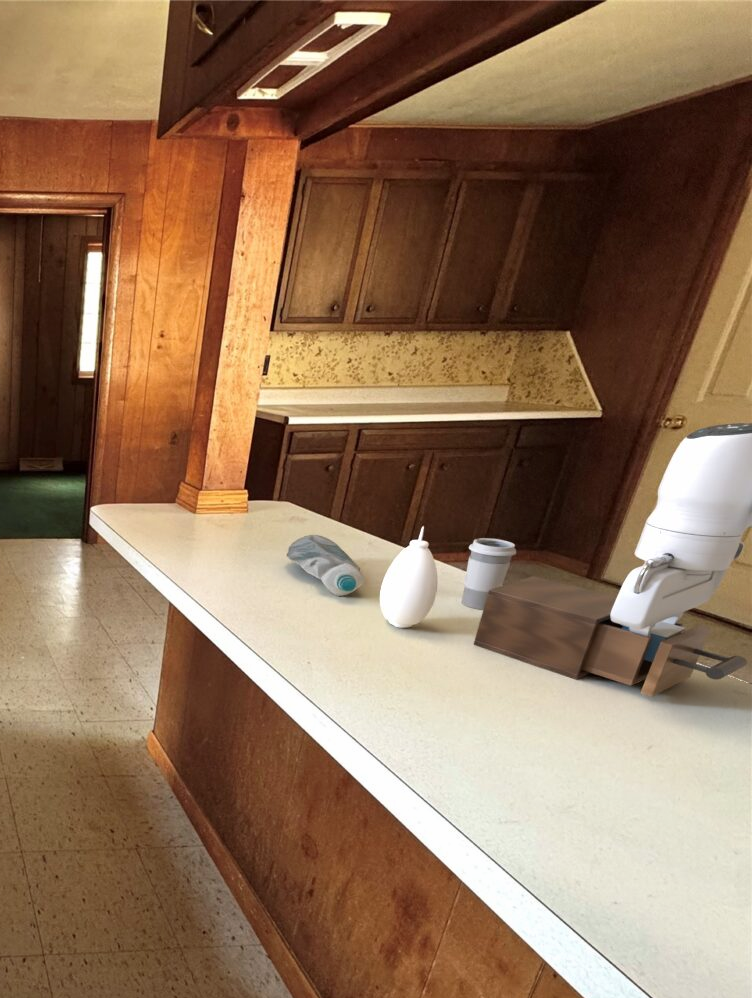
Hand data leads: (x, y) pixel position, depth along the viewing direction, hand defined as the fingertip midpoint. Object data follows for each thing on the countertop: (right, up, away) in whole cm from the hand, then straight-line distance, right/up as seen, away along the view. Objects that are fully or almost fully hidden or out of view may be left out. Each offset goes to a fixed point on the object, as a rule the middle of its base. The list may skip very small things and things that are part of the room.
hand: (647, 642), depth 93 cm
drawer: (0, -5, +2) cm, 5 cm away
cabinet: (-4, -2, +11) cm, 12 cm away
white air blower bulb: (-20, +1, +22) cm, 30 cm away
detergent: (-21, +10, +43) cm, 49 cm away
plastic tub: (0, -2, +1) cm, 2 cm away
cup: (-1, +5, +30) cm, 30 cm away
